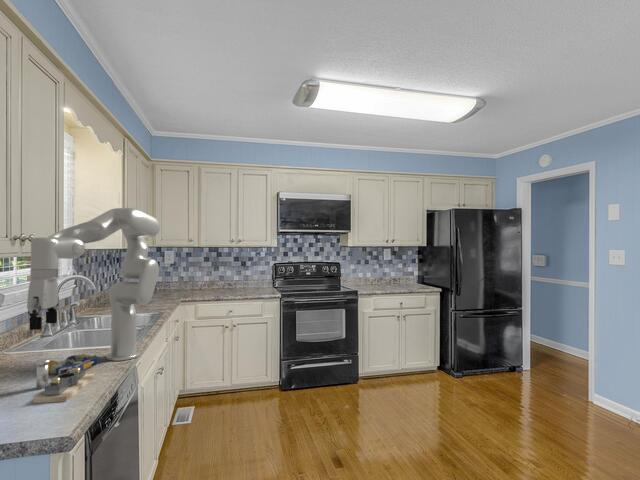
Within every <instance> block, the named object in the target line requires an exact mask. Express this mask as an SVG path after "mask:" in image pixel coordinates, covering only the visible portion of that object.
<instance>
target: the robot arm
mask: <svg viewBox="0 0 640 480" xmlns="http://www.w3.org/2000/svg"><path fill="white" fill-rule="evenodd" d="M119 230H121V232H122V234H123V236H124V237H125V239H126V244H127V248H126V251H125V255H124V257H123V261H122V265H121V267H120V276H121V277H122V278H123V279H126V280H133V281H118V282H115V283H113V284H112V285H111V287H110V288H109V290H108V299H109V303H110V312H111V316H110V317H111V318H110V321H111V323H110V325H111V326H110V330H111V331H110V352H109V353H107V354H106V355H105V358H106V360H108V361H114V362H115V361H118V362H120V361H127V360H132V359H135V358H137V357H140V356H141V351H140V350H137V320H138V319H137V317H138V315H137V309H136V308H135V306H145V305H147V304H148V303H150V301H151V300H152V299H153V295H154V291H155V287H156V285H157V282H158V277H159V274H160V266H159V263H158V261H157V260H155V259H153V258H150V257H148V253H149V246H148V243H147V242H146V240H145V238H152V237H155V236H157V235H158V234H159V233H160V231H161V224H160V222H159V220H158V219H157V218H156V217H154V216H152V215H150V214H148V213H146V212H144V211H141V210H140V209H138V208H134V207H116V208H115V207H114V208H111V209H108V210H107V211H105V212H103V213H102V214H100V215H98V216H96V217H94V218H92V219H90V220H87V221H85V222H82V223H79V224H77V225H73V226H72V225H71V226H70V227H66V228H63V229H61V230H58V231H57V232H54V233H53V234H51V235H49V236H48V237H47V236H46V237H33V238H32V239H31V241H30V275H29V276H30V281H29V285H28V290H27V291H28V292H27V304H26V305H27V306H26V308H27V313H28V318H29V329H28V330H30V331H34V330H35V331H37V330H41V329H42V327H43V325H42V324H43V322H42V321H43V317H42V316H41V315H42V313H43V311H44V310H47V311H45V324H57V322H58V310H59V308H58V306H59V300H60V296H59V288H58V286H59V285H58V279H59V268H60V267H59V266H60V265H59V262H60V261H59V260H60V259H62V260H63V259H68V260H69V259H70V260H72V259H77V258H79V257H81V256H83V254H85V251H86V244H90V243H91V244H92V243H95V242H100V241H103V240H105V239H106V238H108V237H109V236H111V235H113V234H114V233H116V232H118V231H119ZM144 237H145V238H144Z"/></svg>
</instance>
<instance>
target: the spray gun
mask: <svg viewBox="0 0 640 480" xmlns="http://www.w3.org/2000/svg"><path fill="white" fill-rule="evenodd" d="M101 359H102V358H101V357H100V356H98V355H96V354H94V355H89V354H83V353H82V354H75V355H74V354H72V355H70V356H68V357H66V358H65V360H64V363H65V365H63V364H62V363H61V362H58V361H56V360H52V359H51V362H50V363H49V374H51V375H59V374H63V373H68V372H72V369H73V368H77V367H80V371H86V370H88V369H90V368H92V367H94V366H96V365H98V364H99V363H100V361H101Z"/></svg>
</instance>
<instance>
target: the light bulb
mask: <svg viewBox="0 0 640 480" xmlns="http://www.w3.org/2000/svg"><path fill="white" fill-rule="evenodd" d="M51 360H52V359H51V358H49V357H47V358H39V359H36V360H35V361H34V365H35V366H36V379H35V381H36V383H35V384H36V386H35V388H36V390H45V386H46V385H47V384H49V374H50V373H49V363H50V362H51Z"/></svg>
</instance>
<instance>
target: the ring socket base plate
mask: <svg viewBox="0 0 640 480" xmlns="http://www.w3.org/2000/svg"><path fill="white" fill-rule="evenodd" d="M94 378H95V373H86V370H84V371H80V367H77V368H73V369H72V372H68V373H63V374H56V375H55V376H53V378H52V377H51V379H50V382H48V384H47V385H46V386H45V389H43V391H41V392H40V393H38V394H37V395H35V396H34V397H33V404H40V403H42V404H43V403H53V402H55V403H57V402H67V401H69V400H70V399H71V398H72V397H73V396H74V395H76V394H77V393H78V392H79V391H80V390H81V389H83V388H84V387H85V386H86V385H88V383H89V382H91V381H92V380H93V379H94Z"/></svg>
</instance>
